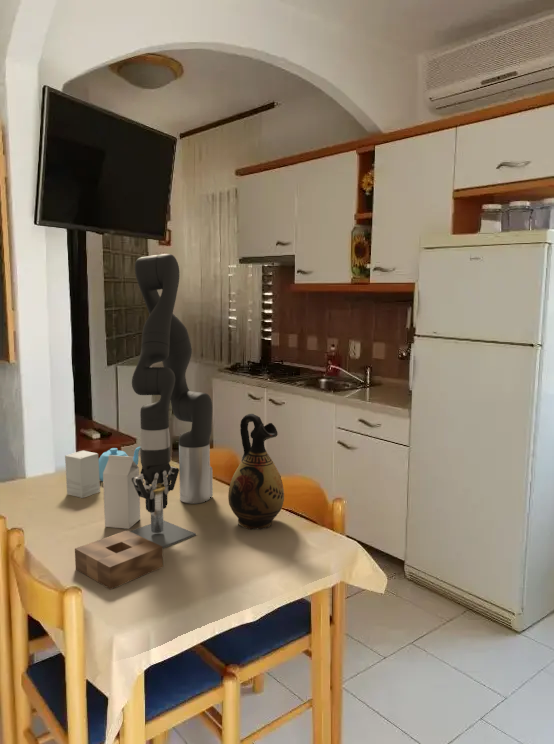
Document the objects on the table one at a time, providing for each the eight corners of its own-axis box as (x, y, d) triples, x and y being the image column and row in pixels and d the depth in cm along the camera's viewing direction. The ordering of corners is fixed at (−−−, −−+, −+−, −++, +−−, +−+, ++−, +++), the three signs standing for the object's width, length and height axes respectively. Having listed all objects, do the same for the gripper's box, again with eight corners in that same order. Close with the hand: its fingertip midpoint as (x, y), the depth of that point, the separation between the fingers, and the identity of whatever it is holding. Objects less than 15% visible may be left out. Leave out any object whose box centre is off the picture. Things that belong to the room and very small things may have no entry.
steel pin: (158, 525, 158) (157, 482, 157) (169, 530, 155) (168, 486, 154) (145, 530, 155) (144, 486, 153) (155, 535, 152) (154, 490, 151)
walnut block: (127, 549, 147) (126, 530, 147) (162, 566, 138) (162, 546, 137) (75, 569, 137) (74, 548, 136) (110, 589, 128) (109, 567, 127)
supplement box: (100, 492, 189) (99, 453, 187) (81, 498, 183) (80, 458, 181) (85, 487, 193) (83, 449, 191) (66, 494, 187) (64, 455, 185)
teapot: (108, 469, 212) (107, 441, 211) (146, 473, 208) (145, 444, 207) (83, 482, 198) (82, 452, 197) (123, 486, 194) (122, 456, 193)
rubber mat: (162, 521, 165) (162, 519, 165) (195, 535, 156) (195, 533, 156) (119, 536, 155) (118, 535, 155) (152, 552, 146) (152, 550, 146)
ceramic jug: (295, 522, 165) (296, 416, 161) (256, 539, 154) (256, 425, 150) (252, 506, 177) (252, 407, 173) (213, 521, 165) (211, 415, 161)
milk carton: (129, 529, 160) (127, 460, 157) (104, 527, 161) (102, 458, 158) (140, 519, 167) (138, 453, 164) (116, 517, 168) (114, 451, 165)
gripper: (168, 437, 160) (169, 499, 162) (123, 447, 149) (125, 513, 152) (186, 442, 155) (187, 506, 157) (141, 453, 144) (143, 521, 147)
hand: (156, 509), depth 154 cm, fingers closed on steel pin, 3 cm apart
